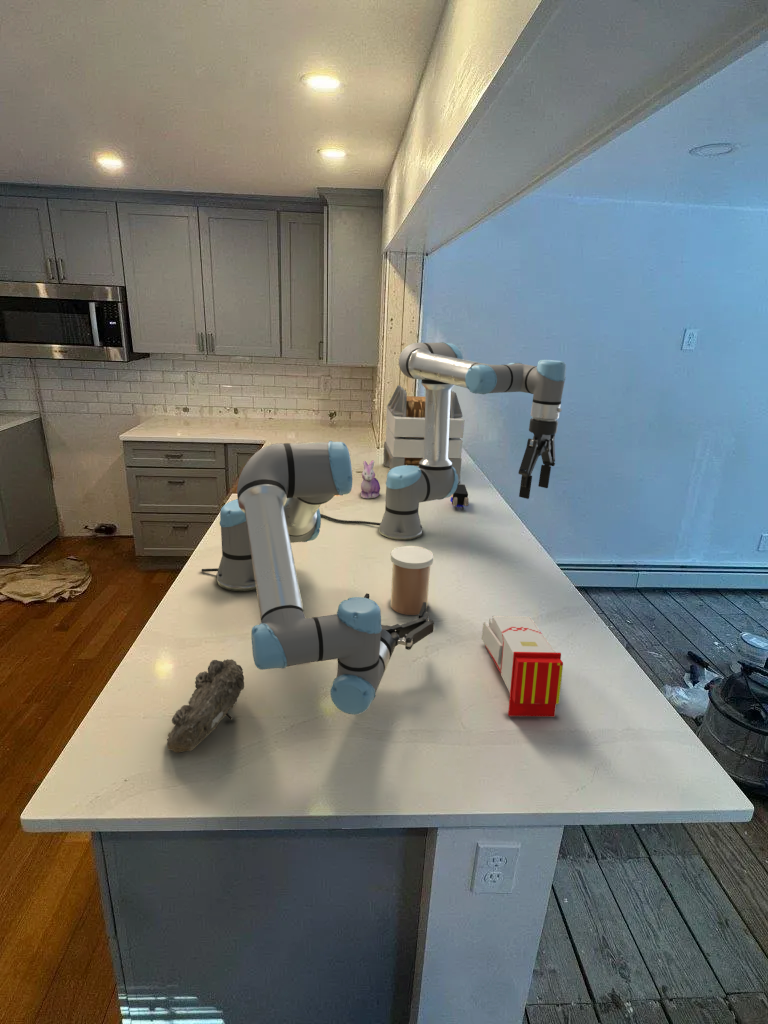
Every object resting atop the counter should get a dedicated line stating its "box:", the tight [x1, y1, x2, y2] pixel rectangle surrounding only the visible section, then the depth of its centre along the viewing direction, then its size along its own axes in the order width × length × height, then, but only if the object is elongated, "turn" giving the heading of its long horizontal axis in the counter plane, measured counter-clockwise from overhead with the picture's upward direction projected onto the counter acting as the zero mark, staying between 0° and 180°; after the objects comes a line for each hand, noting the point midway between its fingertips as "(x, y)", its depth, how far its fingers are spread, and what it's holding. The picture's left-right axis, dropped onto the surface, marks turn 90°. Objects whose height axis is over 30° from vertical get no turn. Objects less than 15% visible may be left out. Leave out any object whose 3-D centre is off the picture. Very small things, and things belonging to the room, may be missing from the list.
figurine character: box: [449, 483, 470, 511], centre depth 230 cm, size 7×8×15 cm
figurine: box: [360, 460, 381, 499], centre depth 236 cm, size 9×10×15 cm
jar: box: [389, 562, 431, 616], centre depth 149 cm, size 10×10×15 cm
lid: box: [390, 545, 434, 569], centre depth 147 cm, size 11×11×2 cm
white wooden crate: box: [383, 384, 465, 484], centre depth 268 cm, size 34×33×41 cm
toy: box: [481, 615, 564, 718], centre depth 123 cm, size 12×13×30 cm
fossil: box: [166, 658, 245, 754], centre depth 106 cm, size 22×10×15 cm
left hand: (395, 602), depth 131 cm, fingers open, 13 cm apart
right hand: (533, 492), depth 163 cm, fingers open, 13 cm apart
